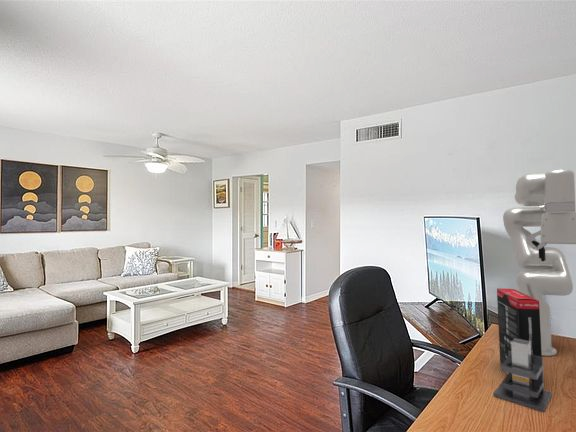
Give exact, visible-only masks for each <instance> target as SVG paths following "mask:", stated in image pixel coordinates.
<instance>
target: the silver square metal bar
mask: <svg viewBox="0 0 576 432" xmlns="http://www.w3.org/2000/svg"><path fill="white" fill-rule="evenodd" d="M511 349H512V367H515V368H519V369H523V370H527V371H531V372H532V365H531V341H526V340H521V339H516V338H514V339H513V340H512V341H511ZM512 379H513V384H515V385H518V386H522V387H525V388H529V389H532V379H531V378H527V377H523V376H519V375H516V374H512ZM513 393H516V394H519V395H522V396H526V397H530V396H528V395H525V394H521V393H518V392H514V391H513Z"/></svg>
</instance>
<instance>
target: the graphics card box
mask: <svg viewBox="0 0 576 432" xmlns="http://www.w3.org/2000/svg"><path fill="white" fill-rule="evenodd" d="M496 297H497V298H496V302H497V321H498V322H497V323H498V324H497V325H498V341H499V342H498V345H499V362H500V363H501V365H502V364H503V363H504V361H505V360H506V359H507V358H508V350H512V349H511V341H512V340H513V339H514V338H516V339H521V340H526V341H531V355H536V356H540V357H543V355H542V351H541V330H540V308H539V300H536V299H534V298H532V297H530V296H528V295H526V294H523V293H521V292H519V290H517V289H513V288H496Z"/></svg>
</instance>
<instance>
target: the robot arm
mask: <svg viewBox="0 0 576 432" xmlns="http://www.w3.org/2000/svg"><path fill="white" fill-rule="evenodd" d="M575 184H576V183H575V172H574V171H573V170H571V169H554V170H550V171H547V172H542V173H541V172H540V173H538V172H537V173H529V174H524V175H522V176H521V177H520V178H518V179H517V181H516V184H515V185H516V186H515V195H514V200H515V201H516V203H517V204H518V205H520V206H521V207H512V208H509V209H507V210H505V211H504V213H503V215H502V221H503V226H504V229H505V231H506V233H507V234H508V237H509V238H510V240H511V243H512V245H513V250H514V254H515V260H516V263H517V264H518V267H519V268H520V269H523V270H522V271H519V272H518V274H517V275H516V283H517V288H518V291H519V292H521V293H523V294H526V295H528V296H530V297H532V298H534V299H536V300H539V308H540V330H541V351H542V357H545V356H546V357H550V356H551V357H552V356H555V355H557V352H558V351H557V349H556V348H555V347H553V346H552V329H551V328H552V325H551V307H550V304H549V303H548V302H547V300H545V299H544V297H542V296H562V297H565V296H570V295H571V294H572V293H573V290H574V285H573V284H574V283H573V279H572V276H571V273H570V269H569V267H568V264H567V261H566V257H565V254H564V253H563V251H561V250H560V249H559V248H557V247H551V246H547V244H549V245H552V244H553V245H576V188H575V187H576V185H575ZM526 227H535V228H536V227H540V229H539V230H538V231H536V232H534V233H532V232H530V231H529V230H527V229H526ZM539 236H540V241H541V242H539V241H537V238H536V237H539Z"/></svg>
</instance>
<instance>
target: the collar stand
mask: <svg viewBox="0 0 576 432" xmlns="http://www.w3.org/2000/svg"><path fill="white" fill-rule="evenodd" d="M531 365H532V372H531V371H527V370H523V369H519V368H515V367H512V350H508V358H507V359H506V360H505V361H504V363H503V364H502V363H501V365H500V372H505V373H507V375H506V376H505V377H504V379H503V380H502V381H501V382H500V384H499V385H498V387H497V388H496V389H495V391H493V397H494V398H498V399H500V400H504V401H507V402H510V403H513V404H516V405H520V406H522V407H526V408H529V409H532V410H536V411H539V412H542V413H545V411H546V410H547V407H548V405H549V403H550V401H551V398H552V397H553V394H552V391H548V390H545V378H544V377H545V376H544V375H545V373H544V356H542V357H540V356H536V355H531ZM512 374H516V375H519V376H523V377H527V378H531V379H532V389H529V388H525V387H522V386H518V385H515V384H513V379H512ZM513 391H514V392H518V393H521V394H525V395H528V396H530V397H526V396H522V395H519V394H516V393H513Z"/></svg>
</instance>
